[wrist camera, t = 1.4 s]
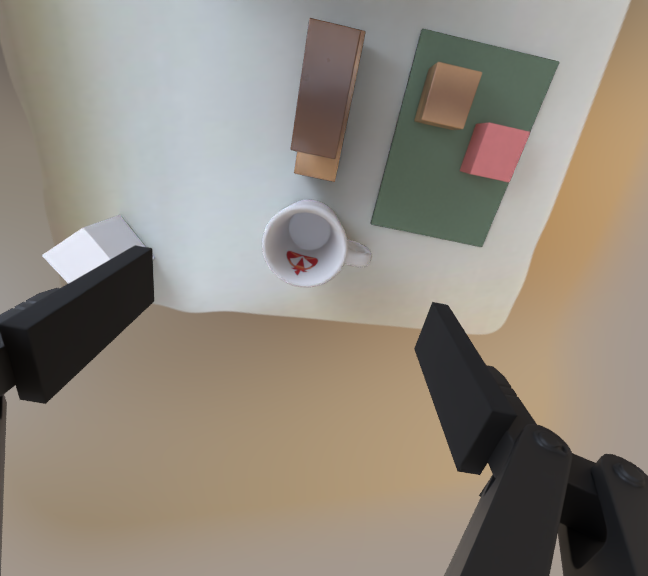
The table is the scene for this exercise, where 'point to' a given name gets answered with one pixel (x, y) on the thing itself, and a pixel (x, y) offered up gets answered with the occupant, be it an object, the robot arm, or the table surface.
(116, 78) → the table surface
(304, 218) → the cup
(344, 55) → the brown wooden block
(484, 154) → the eraser block
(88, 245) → the white cube
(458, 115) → the cork block
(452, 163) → the desk mat
